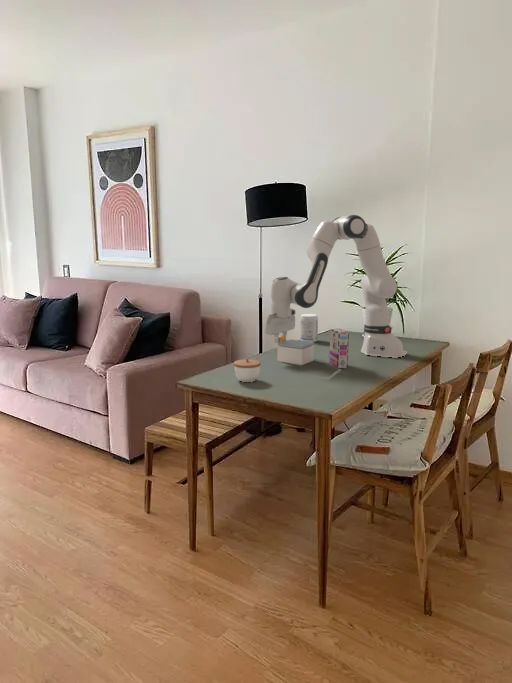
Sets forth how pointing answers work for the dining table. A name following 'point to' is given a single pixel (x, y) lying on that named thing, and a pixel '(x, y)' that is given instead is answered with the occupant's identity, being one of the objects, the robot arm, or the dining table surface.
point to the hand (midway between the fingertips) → (280, 341)
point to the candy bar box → (339, 348)
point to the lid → (293, 343)
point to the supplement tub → (309, 327)
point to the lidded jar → (247, 369)
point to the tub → (295, 355)
